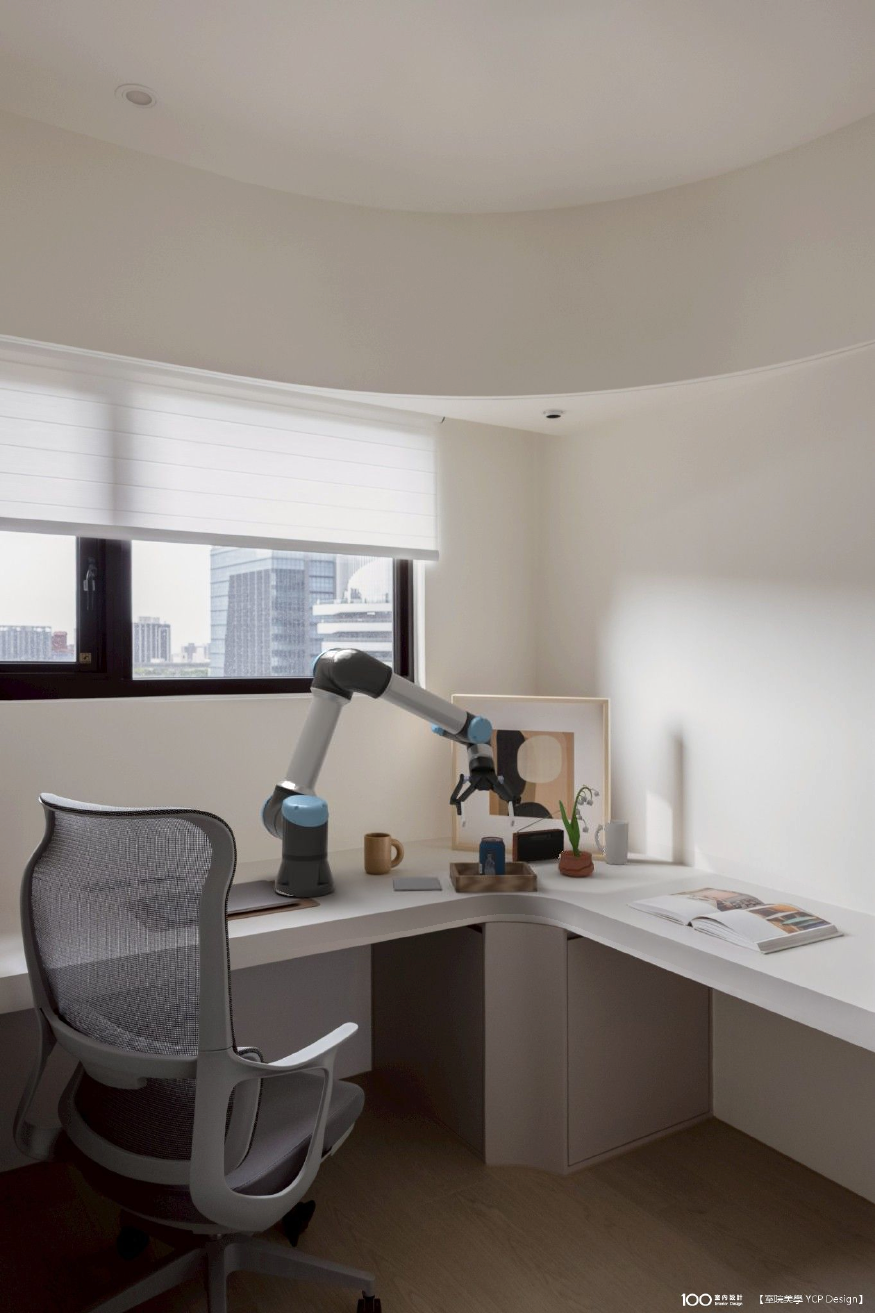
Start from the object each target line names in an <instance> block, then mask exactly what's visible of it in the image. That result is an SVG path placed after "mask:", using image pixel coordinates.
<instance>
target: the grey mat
mask: <svg viewBox="0 0 875 1313" xmlns="http://www.w3.org/2000/svg"><path fill="white" fill-rule="evenodd" d="M392 882H393V889H394V892H404V891H403V890H439V891H442V886H441V883H440V880H439V878H438V877H437V876H434V877H433V876H430V877H429V876H427V877H425V876H424V877H418V876H415V877H412V876H411V877H392Z"/></svg>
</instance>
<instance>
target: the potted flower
mask: <svg viewBox="0 0 875 1313" xmlns="http://www.w3.org/2000/svg"><path fill="white" fill-rule="evenodd" d="M584 790H587V791H588V792H589V794H590V799H588V798H587V795H586V792H585V791H584ZM592 790H593V791H594V792H593V793H592ZM581 793H584V795H581ZM593 795H594V797H595V798H596V797H599V796H600V792H599V791H598V790H596V789H594V788H590V787H589V786H587V785H585V784H582V787H581V788H580V789H579V790H578V792H577V795H576V797H575V800H574V803H573V809H572V814H571V818H570V819H571V820H570V821H569V820H568V817H567V812H566V809H564V808H565V806H564V804H563V802H562V801H561V799H559V800H558V801H559V802H558V805H559V810H560V814H561V819H562V822H563V825H564V827H565V830H566V831H565V832H566V834H567V837H568V841H569V842H570V845H571V847H572V849H571V850H564V851H563V852H561V853H560V854H561V859H560V860H559V862H558V865H557V869H558V870H559V872H560V873H561V874H563V875H565V876H568V877H574V878H582V877H587V876H590V875H592V874H593V872H594V871H595V864H594V862H593V860H592V856H593V854H592V853H591V852H589V851H586V850H580V849H579V845H580V839H581V831H580V826H579V821H583V823H584V825H585V826H583V827H582V833H585V834H586V833H587V834H588V833H589V827H587V824H586V821H585V819H583V816H582V815H581V810H580V809H579V808H578V807H579V806H585V804H584V803H586V805H588V806H589V807H593V804H594V800H592V799H593Z"/></svg>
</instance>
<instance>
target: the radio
mask: <svg viewBox="0 0 875 1313" xmlns="http://www.w3.org/2000/svg"><path fill="white" fill-rule="evenodd" d="M558 812H561V810H560V809H559V810H557V811H555V812H553V813H552V814H549V815H547V816H545V817H543V818H541V819H538V820H537V821H534V822H533V823H531V824H528V825H527V826H524V827H522V828H521V829H518V830H517V831H516V832H513V833H512V845H511V846H512V850H511V851H512V853H511V855H512V857H511V858H512V861H511V862H526V863H533V862H540V861H541V862H543V861H550V860H559V859H558V857H559V854H560V853H561V852H562V851H565V829H562V828H561V829H560V828H548V829H539V830H529V831H528V830H527V831H523V830H524V829H526V828H529V827H531V826H532V825H534V824H537V823H538V822H540V821H542V820H545V819H546V818H548V817H550V816H552V815H555V814H557V813H558Z"/></svg>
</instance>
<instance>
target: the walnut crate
mask: <svg viewBox="0 0 875 1313" xmlns="http://www.w3.org/2000/svg"><path fill="white" fill-rule="evenodd" d="M449 879H451V880H450V881H451V883H452V884H451V885H452V886H453V889H454V892H455V893H488V892H489V893H495V892H497V893H505V892H511V893H513V892H514V893H515V892H538V876H537V874H536V872H535V871H534V870H533V869H532V868H531V866H530V865H529V863H528V862H513V861H505V875H479V861H468V862H467V861H462V862H461V861H459V862H454V861H453V862H451V861H450V862H449Z"/></svg>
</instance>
